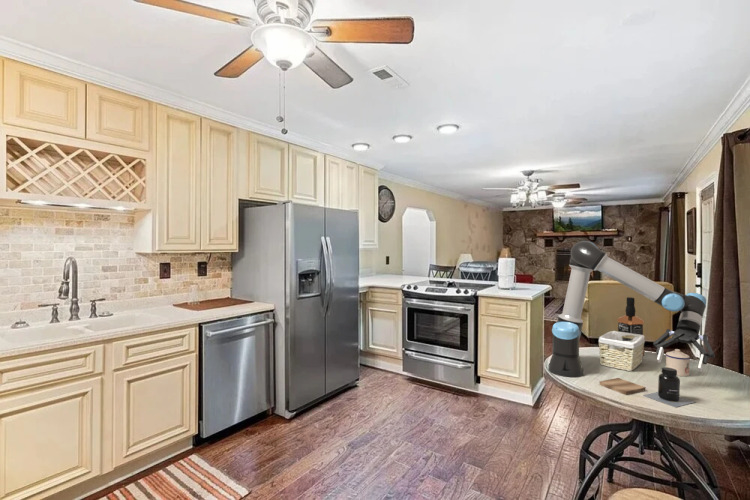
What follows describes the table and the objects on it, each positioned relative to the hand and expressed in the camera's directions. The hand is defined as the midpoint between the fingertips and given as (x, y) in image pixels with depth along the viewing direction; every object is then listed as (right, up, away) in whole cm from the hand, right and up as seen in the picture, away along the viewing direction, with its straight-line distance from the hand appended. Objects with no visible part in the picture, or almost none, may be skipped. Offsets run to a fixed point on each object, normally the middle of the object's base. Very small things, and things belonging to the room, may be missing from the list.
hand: (678, 365), depth 154 cm
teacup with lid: (+21, -12, +26) cm, 36 cm away
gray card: (-7, -12, -4) cm, 15 cm away
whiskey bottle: (+19, -11, +56) cm, 61 cm away
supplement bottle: (-7, -12, -4) cm, 15 cm away
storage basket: (+3, -12, +39) cm, 41 cm away
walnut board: (-18, -12, +8) cm, 23 cm away
